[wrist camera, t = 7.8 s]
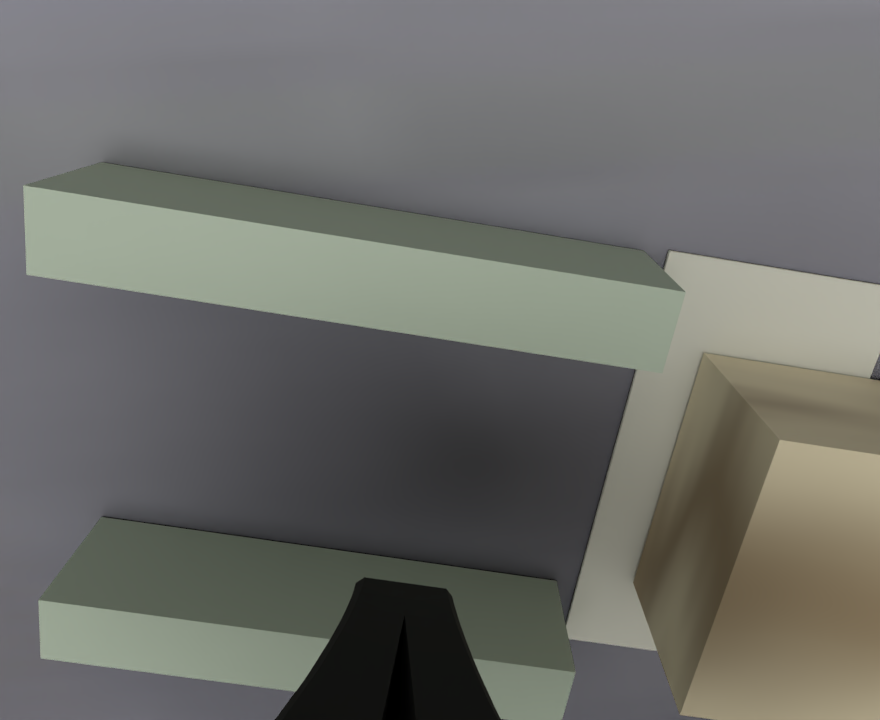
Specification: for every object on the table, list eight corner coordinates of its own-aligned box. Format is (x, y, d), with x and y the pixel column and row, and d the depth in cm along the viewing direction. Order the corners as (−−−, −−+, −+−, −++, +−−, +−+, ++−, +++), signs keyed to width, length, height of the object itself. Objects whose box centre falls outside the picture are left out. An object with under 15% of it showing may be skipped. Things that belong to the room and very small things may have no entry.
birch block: (812, 608, 19) (903, 744, 15) (632, 582, 18) (679, 714, 15) (906, 384, 17) (1040, 479, 13) (704, 352, 16) (779, 439, 13)
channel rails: (543, 629, 19) (559, 726, 16) (101, 568, 19) (40, 658, 16) (643, 251, 16) (685, 292, 13) (101, 162, 15) (23, 185, 12)
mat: (754, 661, 20) (755, 664, 19) (562, 635, 19) (562, 638, 19) (902, 288, 16) (905, 289, 16) (668, 250, 16) (669, 251, 16)
